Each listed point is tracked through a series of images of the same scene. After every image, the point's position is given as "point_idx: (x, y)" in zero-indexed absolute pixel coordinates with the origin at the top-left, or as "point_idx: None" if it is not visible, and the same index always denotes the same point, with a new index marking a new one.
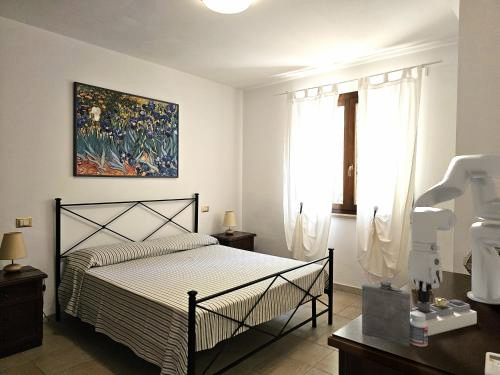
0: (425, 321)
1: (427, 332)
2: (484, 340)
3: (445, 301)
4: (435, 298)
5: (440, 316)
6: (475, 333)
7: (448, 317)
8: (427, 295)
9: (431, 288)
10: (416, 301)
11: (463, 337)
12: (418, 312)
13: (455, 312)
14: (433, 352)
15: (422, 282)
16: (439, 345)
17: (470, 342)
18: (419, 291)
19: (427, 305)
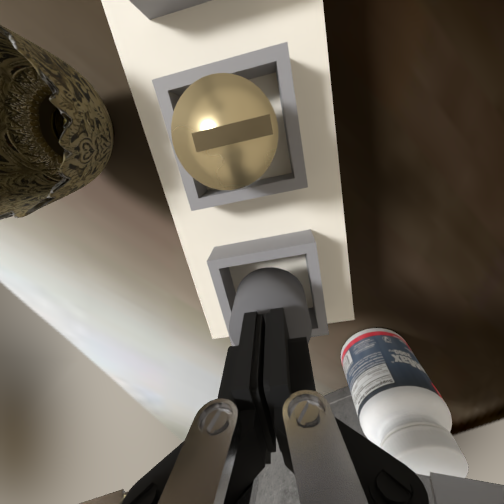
0: (432, 411)
1: (428, 377)
2: (486, 41)
3: (277, 127)
4: (194, 172)
5: (298, 192)
6: (402, 16)
7: (325, 150)
8: (314, 384)
9: (374, 454)
10: (68, 194)
11: (410, 138)
12: (414, 462)
13: (261, 11)
14: (449, 350)
15: (206, 491)
16: (420, 298)
17: (463, 147)
18: (271, 450)
19: (311, 330)
